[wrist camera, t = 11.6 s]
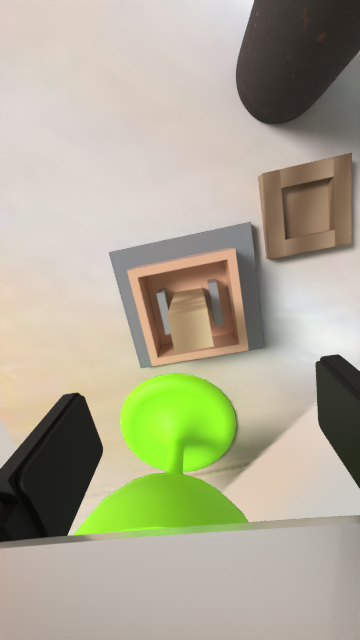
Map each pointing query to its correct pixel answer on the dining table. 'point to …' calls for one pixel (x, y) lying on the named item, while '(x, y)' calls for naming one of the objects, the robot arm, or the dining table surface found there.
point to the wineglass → (171, 458)
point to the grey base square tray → (189, 273)
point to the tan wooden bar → (189, 321)
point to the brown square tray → (307, 206)
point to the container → (294, 54)
